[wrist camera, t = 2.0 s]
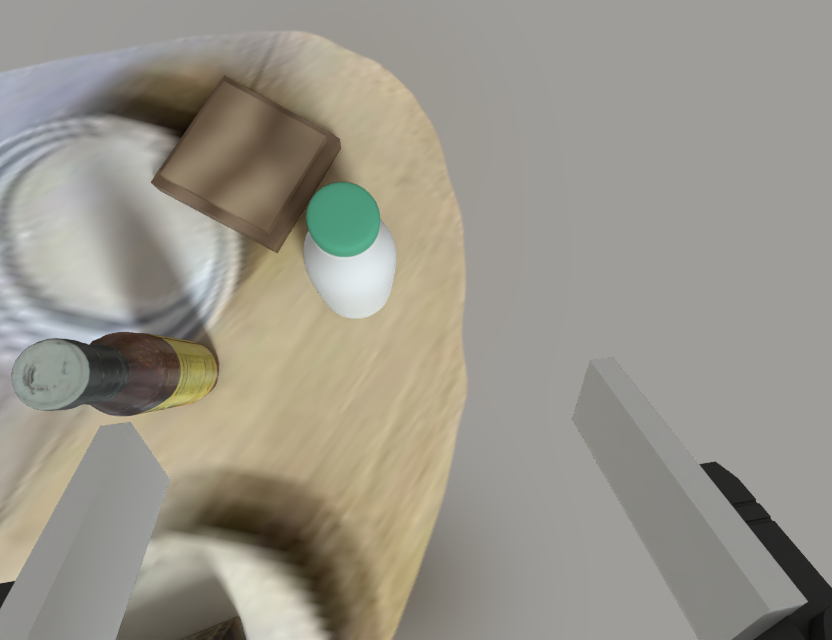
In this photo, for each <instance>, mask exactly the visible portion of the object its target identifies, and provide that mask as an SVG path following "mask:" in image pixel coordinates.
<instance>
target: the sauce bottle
mask: <svg viewBox="0 0 832 640" xmlns="http://www.w3.org/2000/svg"><path fill="white" fill-rule="evenodd" d="M218 376H219V363H218V360H217V359H216V357H215V355H214V354H213V353H212V352H211V351H210V350H209V349H207V348H206V347H205V346H203V345H201V344H197V343H196V342H192V341H187V340H182V339H176V338H170V337H164V336H158V335H152V334H145V333H133V332H132V333H130V332H118V333H112V334H108V335H105V336H103V337H101V338H99V339H97V340H94V341H92V342H91V344H89V345H88V344H85V343H81V342H79V341H75V340H68V339H58V338H55V339H47V340H43V341H40V342H37V343H35V344H33V345H31V346H29V347H28V348H27V349H25V350H24V351H23V352H22V353H21V355H20V356H19V357H18V358H17V359H16V361H15V364H14V366H13V369H12V373H11V377H12V385H13V387H14V390H15V392H16V394H17V396H18V397H19V399H20V400H21V401H23V402H24V403H25V404H26V405H27V406H29V407H32V408H34V409H37V410H45V411H53V410H66V409H72V408H75V407H77V406H79V405H82V404H87V405H91V406H92V407H94V408H96V409H97V410H99V411H101V412H103V413H106V414H109V415H113V416H132V415H137V414H142V413H147V412H152V411H158V410H163V409H167V408H172V407H177V406H182V405H187V404H191V403H194V402H196V401H198V400H200V399H202V398H203V397H204V396H206V395H207V394H208V393H209V392H210V391H211V390H212V389H213V388H214V387H215V386H216V383H217V380H218Z"/></svg>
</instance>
